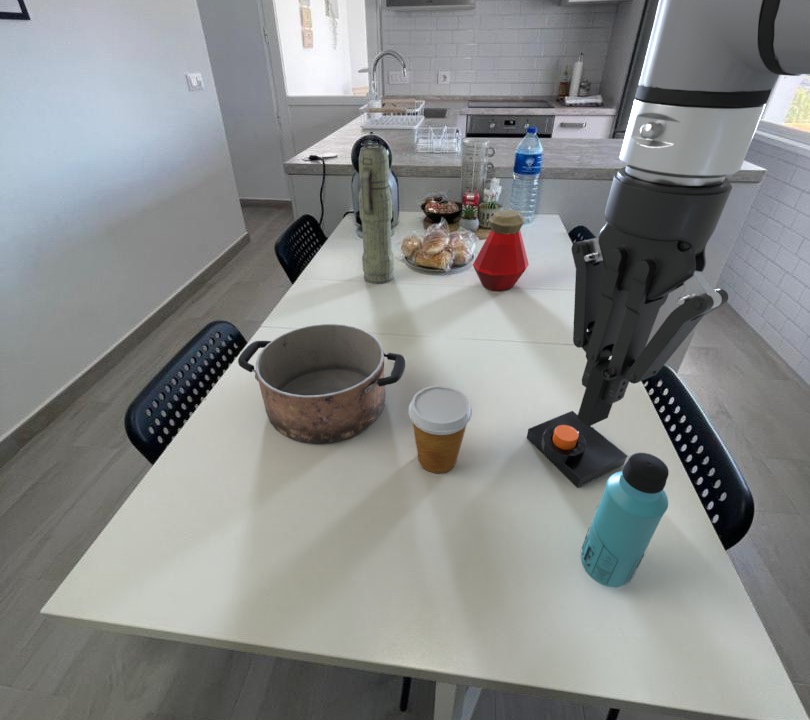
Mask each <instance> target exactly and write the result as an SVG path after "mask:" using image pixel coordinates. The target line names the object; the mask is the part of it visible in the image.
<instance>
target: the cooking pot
mask: <svg viewBox="0 0 810 720" xmlns="http://www.w3.org/2000/svg"><path fill="white" fill-rule="evenodd" d="M259 349H261V351H260V352H259V353H258V355H257V359H256V361H255V365H253V364H251V363H249V361H250V360H251V359H252V357H253V356H254V355H255V354H256V353H257V351H258V350H259ZM385 358H386V359H387V360H388V361H393V362H394V364H393V368H392V369H391V373H390V376H386V374H385V373H386V372H385ZM237 363H238V366H239V367H240V368H241V369H243V370H244V371H247V372H249V373H252V372H253V373H254V378H255V380H256V381H257V382H258V385H259V389H260V394H261V398H262V401H263V406H264V409H265V412H266V416H267V418H268V421H269V423H270V424H271V426H272V427H273V428H274V429H275V431H277V432H279V433H280V434H281V435H283V436H285V437H287V438H289V439H292V440H294V441H297V442H298V441H299V442H302V443H309V444H328V443H334V442H339V441H343V440H347V439H349V438H352V437H354V436H357V435H358V434H360V433H362V432H363V431H365V430H366V429H368V428H369V427H370V426H372V425H373V424H374V423H375V422H376V421H377V419H378V418H379V417H380V416H381V414H382V412H383V410H384V408H385V405H386V398H387V397H386V386H389V385H392V384H396V383H398V382H399V381H400V380H401V378H402V377H403V375H404V372H405V369H406V359H405V357H404V356H403V355H402V354H399V353H396V352H395V353H394V352H388V353H386V352H385V350H384V348H383V346H382V343H381V342H380V340H378V339H377V337H375V336H374V335H373V334H371V332H368V331H366V330H364V329H361V328H360V327H356V326H352V325H347V324H338V323H319V324H311V325H307V326H302V327H299V328H295V329H292V330H290V331H288V332H285V333H283V334H281V335H279V336H277V337H276V338H273V340H255V341H253V342H251V343H250V344H249V345H247V346H246V347H245V349H244V350H243V351H242V352H241V354H240V355H239V357H238V359H237Z"/></svg>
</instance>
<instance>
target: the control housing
mask: <svg viewBox="0 0 810 720" xmlns="http://www.w3.org/2000/svg"><path fill="white" fill-rule="evenodd" d="M577 416H578V413H576V412H575V411H574V410H571V411H568V412H566V413H563V414H561V415H559V416H555V417H554V418H551V419H548V420H546V421H544V422H541V423H539V424H536V425H534V426H531V427H529V428H528V429H527V434H526V440H528V441H529V443H531V444H532V445H533V446H534V447H535V449H537V450H538V451H539V452H540V453H541V454H542V455H543V456H544V457H545V458H546V459H547V460H548V461H549V462H550V463H551V464H552V465H553V466H554V467H555V468H556V469H557V470H558V471H559V472H560V473H561V474H562V475H563V476H564V477H565V478H566V479H567V480H568V481H569V482H570V483H572V485H574V487H575V488H577V489H578V488H581V487H583V486H584V485H586V484H588V483H590V482H592V481H594V480H597V479H598V478H601V477H603V476H604V475H607V474H608V473H611V472H613V471H614V470H617V469H618V468H621V467H624V466H625V464H626V461H627V458H628V455H627V454H626V453H625V452H624V451H622V450H621V449H620V448H618V447H617V446H616V445H615V444H614V443H612V442H611V441H610V440H609V439H608V438H607V437H605V436H604V435H603V434H602V433H600V432H599V430H597V429H596V428H594V427H593V425H591V426H589V427H588V426H587V425H585V424H584V423H583V422H582V421H580V420H579V419H578V418H577ZM560 425H567V426H571V427H573V428H574V429H575V430H576V431H577V432H578V439H577V443H576V446H575V447H574V448H573V449H571V450H563V449H561V448H558V447H557V446H555V445H554V443H553V441H552V439H553V435H554V431H555V428H556V427H557V426H560Z"/></svg>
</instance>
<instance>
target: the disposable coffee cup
mask: <svg viewBox="0 0 810 720" xmlns="http://www.w3.org/2000/svg"><path fill="white" fill-rule="evenodd" d="M407 412H408V416H409V418H410V420H411V421H412V427H413V434H414V439H415V446H416V452H417V458H418V463H419V465H420V466H421V467H422V468H423V469H424V470H425V471H426V472H429V473H433V474H445V473H447V472H450V471H452V470H453V469H454V468H455V466H456V465H457V461H458V457H459V454H460V450H461V446H462V442H463V439H464V435H465V432H466V429H467V425H468V423H469V422H470V421H471V418H472V414H473V410H472V407H471V404H470V401H469V399H468V398H467V396H466V395H465V394H464V393H463V392H462V391H460V390H459V389H456V388H454V387H451V386H447V385H440V384H439V385H431V386H426V387H424V388H421V389H420V390H418V391H417V392H416V393H415V394H414V395H413V397H412V399H411V401H410V402H409V405H408V411H407Z"/></svg>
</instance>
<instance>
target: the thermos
mask: <svg viewBox="0 0 810 720" xmlns="http://www.w3.org/2000/svg"><path fill="white" fill-rule="evenodd" d="M358 174H359V175H358V176H359V181H360V185H359V192H358V193H359V194H358V211H359V219H360V222H361V229H362V247H363V253H362V255H361V256H362V257H361V261H362V271H363V279H364V281H365V282H367V283H371V284H375V285H377V284H378V285H381V284H386V283H389V282H391V281H392V280H393V279H394V270H395V263H394V253H393V250H392V219H393V196H392V193H391V188H390V183H389V180H390V158H389V155H388V152H387V149H386V147H385V146H383V145H382V144H376V143H375V144H364V145H363V146H361V147H360V151H359V156H358Z"/></svg>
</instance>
